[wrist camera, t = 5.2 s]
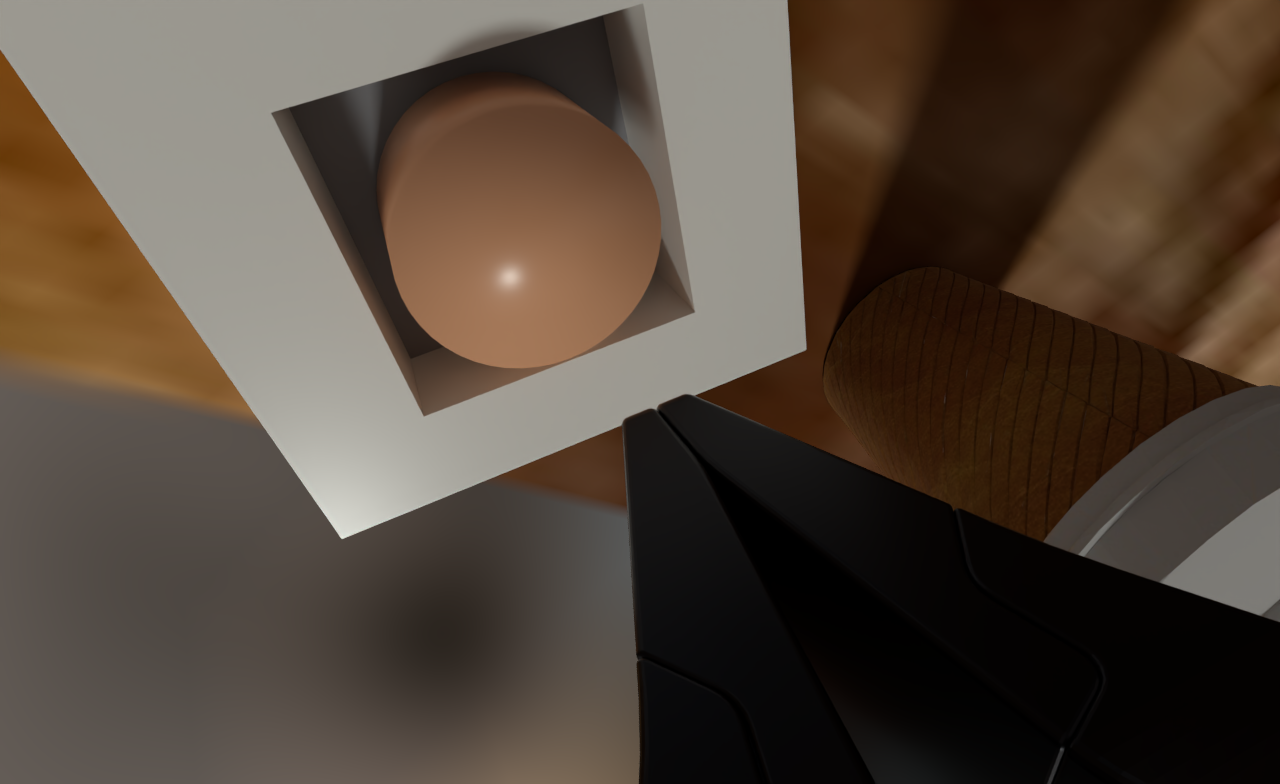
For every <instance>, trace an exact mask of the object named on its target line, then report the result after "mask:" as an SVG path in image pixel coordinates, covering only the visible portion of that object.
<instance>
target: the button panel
mask: <svg viewBox="0 0 1280 784" xmlns="http://www.w3.org/2000/svg"><path fill="white" fill-rule="evenodd" d="M0 50H1V51H2V52H3V54H4V55H5V57H6V58H7V60H8V61H9V62H10V64H11V65H12V67H13V68H14V70H15V71H16V72H17V74H18V75H19V77H20V78H21V80H22V81H23V83H24V84H25V85H26V87H27V88H28V90H29V91H30V93H31V94H32V95H33V97H34V98H35V100H36V101H37V103H38V104H39V105H40V107H41V108H42V110H43V111H44V113H45V114H46V116H47V117H48V118H49V120H50V121H51V123H52V124H53V126H54V127H55V128H56V130H57V131H58V133H59V134H60V136H61V137H62V138H63V140H64V141H65V143H66V144H67V146H68V147H69V149H70V150H71V151H72V153H73V154H74V156H75V157H76V159H77V160H78V161H79V163H80V164H81V166H82V167H83V169H84V170H85V171H86V173H87V174H88V176H89V177H90V179H91V180H92V181H93V183H94V184H95V186H96V187H97V189H98V190H99V192H100V193H101V194H102V196H103V197H104V199H105V200H106V202H107V203H108V204H109V206H110V207H111V209H112V210H113V212H114V213H115V214H116V216H117V217H118V219H119V220H120V222H121V223H122V225H123V226H124V227H125V229H126V230H127V232H128V233H129V235H130V236H131V237H132V239H133V240H134V242H135V243H136V245H137V246H138V247H139V249H140V250H141V252H142V253H143V255H144V256H145V258H146V259H147V260H148V262H149V263H150V265H151V266H152V268H153V269H154V270H155V272H156V273H157V275H158V276H159V278H160V279H161V280H162V282H163V283H164V285H165V286H166V288H167V289H168V290H169V292H170V293H171V295H172V296H173V298H174V299H175V301H176V302H177V303H178V305H179V306H180V308H181V309H182V311H183V312H184V313H185V315H186V316H187V318H188V319H189V321H190V322H191V323H192V325H193V326H194V328H195V329H196V331H197V332H198V334H199V335H200V336H201V338H202V339H203V341H204V342H205V344H206V345H207V346H208V348H209V349H210V351H211V352H212V354H213V355H214V356H215V358H216V359H217V361H218V362H219V364H220V365H221V367H222V368H223V369H224V371H225V372H226V374H227V375H228V377H229V378H230V379H231V381H232V382H233V384H234V385H235V387H236V388H237V389H238V391H239V392H240V394H241V395H242V397H243V398H244V399H245V401H246V402H247V404H248V405H249V407H250V408H251V410H252V411H253V412H254V414H255V415H256V417H257V418H258V420H259V421H260V422H261V424H262V425H263V427H264V428H265V430H266V431H267V432H268V434H269V435H270V437H271V438H272V440H273V441H274V443H275V444H276V445H277V447H278V448H279V450H280V451H281V453H282V454H283V455H284V457H285V458H286V460H287V461H288V462H289V464H290V465H291V467H292V468H293V469H294V471H295V473H296V474H297V475H298V477H299V478H300V480H301V481H302V483H303V484H304V485H305V487H306V488H307V490H308V491H309V493H310V494H311V495H312V497H313V498H314V500H315V501H316V503H317V504H318V506H319V507H320V508H321V510H322V511H323V513H324V514H325V515H326V517H327V518H328V520H329V521H330V523H331V524H332V526H333V527H334V529H335V530H336V531H337V533H338V534H339V536H340V537H341V539H343V538H345V537H348V536H351V535H353V534H355V533H358V532H360V531H363V530H365V529H368V528H370V527H373V526H375V525H377V524H380V523H382V522H385V521H387V520H390V519H392V518H394V517H397V516H399V515H402V514H405V513H407V512H409V511H412V510H414V509H417V508H419V507H422V506H424V505H427V504H429V503H431V502H434V501H436V500H439V499H441V498H444V497H446V496H449V495H451V494H453V493H456V492H459V491H461V490H463V489H466V488H468V487H471V486H473V485H476V484H478V483H481V482H483V481H486V480H488V479H490V478H493V477H495V476H498V475H500V474H503V473H505V472H508V471H510V470H513V469H515V468H517V467H520V466H522V465H525V464H527V463H530V462H532V461H535V460H537V459H540V458H542V457H544V456H547V455H549V454H552V453H554V452H557V451H559V450H562V449H564V448H567V447H569V446H571V445H574V444H576V443H579V442H581V441H584V440H586V439H589V438H591V437H594V436H596V435H598V434H601V433H603V432H606V431H608V430H611V429H613V428H616V427H618V426H621V425H622V422H623V420H624V419H625V418H626V417H629V416H631V415H634V414H636V413H639V412H641V411H644V410H646V409H649V408H652V409H657V407H658V405H659V404H661V403H663V402H666V401H668V400H671V399H673V398H676V397H678V396H680V395H683V394H691V395H697V394H699V393H702V392H704V391H706V390H709V389H711V388H714V387H716V386H719V385H721V384H724V383H726V382H729V381H731V380H733V379H736V378H738V377H741V376H743V375H746V374H748V373H751V372H753V371H756V370H758V369H760V368H763V367H765V366H768V365H770V364H773V363H775V362H778V361H780V360H783V359H785V358H787V357H790V356H792V355H795V354H797V353H800V352H802V351H805V350H806V333H805V315H804V296H803V278H802V260H801V241H800V223H799V205H798V186H797V168H796V150H795V132H794V113H793V95H792V77H791V58H790V40H789V22H788V3H787V0H0ZM481 72H508V73H514V74H519V75H524V76H527V77H530V78H533V79H536V80H539V81H541V82H543V83H545V84H547V85H549V86H551V87H553V88H555V89H556V90H558V91H559V92H561V93H562V94H563V95H565V96H566V97H568V98H569V99H570V100H572V101H573V102H574V103H576V104H577V105H578V106H580V107H581V108H582V109H584V110H585V111H587V112H588V113H589V114H591V115H592V116H593V117H595V118H596V119H597V120H599V121H600V122H601V123H603V124H604V125H605V126H607V127H608V128H610V129H611V130H612V131H614V132H615V133H616V134H618V135H619V136H620V137H621V138H622V139H623V140H624V141H625V142H626V143H627V144H628V145H629V146H630V147H631V148H632V150H633V151H634V152H635V153H636V155H637V156H638V157H639V159H640V160H641V162H642V163H643V165H644V167H645V168H646V170H647V172H648V174H649V176H650V178H651V181H652V183H653V186H654V188H655V191H656V195H657V199H658V203H659V208H660V216H661V242H660V249H659V256H658V259H657V263H656V267H655V270H654V273H653V275H652V278H651V281H650V283H649V285H648V287H647V289H646V291H645V293H644V295H643V297H642V298H641V300H640V301H639V303H638V304H637V306H636V307H635V309H634V310H633V312H632V313H631V314H630V315H629V316H628V317H627V319H626V320H625V321H624V322H623V323H622V324H621V325H620V326H619V327H618V328H617V329H616V330H615V331H614V332H613V333H611V334H610V335H609V336H608V337H606V338H605V339H604V340H602V341H601V342H600V343H598V344H597V345H595V346H593V347H592V348H590V349H588V350H587V351H585V352H583V353H581V354H579V355H576V356H574V357H572V358H570V359H567V360H564V361H561V362H558V363H555V364H550V365H545V366H540V367H532V368H502V367H495V366H489V365H485V364H482V363H478V362H474V361H472V360H469V359H467V358H464V357H462V356H460V355H458V354H456V353H454V352H452V351H451V350H449V349H447V348H445V347H444V346H443V345H441V344H440V343H439V342H437V341H436V340H435V339H433V338H432V337H431V336H430V335H429V334H428V333H427V332H426V331H425V330H424V329H423V328H422V327H421V326H420V325H419V324H418V322H417V321H416V320H415V318H414V317H413V316H412V315H411V313H410V312H409V310H408V308H407V307H406V305H405V303H404V301H403V299H402V298H401V295H400V293H399V290H398V287H397V285H396V282H395V279H394V275H393V270H392V266H391V262H390V257H389V253H388V249H387V245H386V240H385V236H384V232H383V227H382V223H381V219H380V214H379V210H378V205H377V192H376V186H377V172H378V167H379V163H380V158H381V155H382V152H383V149H384V146H385V144H386V141H387V139H388V137H389V135H390V134H391V132H392V130H393V128H394V126H395V125H396V124H397V122H398V121H399V119H400V118H401V117H402V115H403V114H404V113H405V112H406V111H407V110H408V109H409V108H410V107H411V106H412V105H413V104H414V103H415V102H416V101H417V100H418V99H419V98H421V97H422V96H423V95H425V94H426V93H427V92H429V91H430V90H432V89H434V88H435V87H437V86H439V85H441V84H443V83H445V82H447V81H450V80H452V79H455V78H458V77H460V76H465V75H469V74H474V73H481Z"/></svg>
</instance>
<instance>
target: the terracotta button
mask: <svg viewBox="0 0 1280 784" xmlns="http://www.w3.org/2000/svg"><path fill="white" fill-rule="evenodd" d="M376 192H377V205H378V210H379V214H380V219H381V223H382V227H383V232H384V236H385V240H386V245H387V249H388V253H389V257H390V262H391V266H392V270H393V275H394V279H395V282H396V285H397V287H398V290H399V293H400V295H401V298H402V299H403V301H404V303H405V305H406V307H407V308H408V310H409V312H410V313H411V315H412V316H413V317H414V318H415V320H416V321H417V322H418V324H419V325H420V326H421V327H422V328H423V329H424V330H425V331H426V332H427V333H428V334H429V335H430V336H431V337H432V338H433V339H435V340H436V341H437V342H439V343H440V344H441V345H443V346H444V347H445V348H447V349H449V350H451V351H452V352H454V353H456V354H458V355H460V356H462V357H464V358H467V359H469V360H472V361H474V362H478V363H482V364H485V365H489V366H495V367H502V368H532V367H540V366H545V365H550V364H555V363H558V362H561V361H564V360H567V359H570V358H572V357H574V356H576V355H579V354H581V353H583V352H585V351H587V350H588V349H590V348H592V347H593V346H595V345H597V344H598V343H600V342H601V341H602V340H604V339H605V338H606V337H608V336H609V335H610V334H611V333H613V332H614V331H615V330H616V329H617V328H618V327H619V326H620V325H621V324H622V323H623V322H624V321H625V320H626V319H627V317H628V316H629V315H630V314H631V313H632V312H633V310H634V309H635V307H636V306H637V304H638V303H639V301H640V300H641V298H642V297H643V295H644V293H645V291H646V289H647V287H648V285H649V283H650V281H651V278H652V275H653V273H654V270H655V267H656V263H657V259H658V256H659V249H660V242H661V216H660V208H659V203H658V199H657V195H656V191H655V188H654V186H653V183H652V181H651V178H650V176H649V174H648V172H647V170H646V168H645V167H644V165H643V163H642V162H641V160H640V159H639V157H638V156H637V155H636V153H635V152H634V151H633V150H632V148H631V147H630V146H629V145H628V144H627V143H626V142H625V141H624V140H623V139H622V138H621V137H620V136H619V135H618V134H616V133H615V132H614V131H612V130H611V129H610V128H608V127H607V126H605V125H604V124H603V123H601V122H600V121H599V120H597V119H596V118H595V117H593V116H592V115H591V114H589V113H588V112H587V111H585V110H584V109H582V108H581V107H580V106H578V105H577V104H576V103H574V102H573V101H572V100H570V99H569V98H568V97H566V96H565V95H563V94H562V93H561V92H559V91H558V90H556V89H555V88H553V87H551V86H549V85H547V84H545V83H543V82H541V81H539V80H536V79H533V78H530V77H527V76H524V75H519V74H514V73H508V72H481V73H474V74H469V75H465V76H460V77H458V78H455V79H452V80H450V81H447V82H445V83H443V84H441V85H439V86H437V87H435V88H434V89H432V90H430V91H429V92H427V93H426V94H425V95H423V96H422V97H421V98H419V99H418V100H417V101H416V102H415V103H414V104H413V105H412V106H411V107H410V108H409V109H408V110H407V111H406V112H405V113H404V114H403V115H402V117H401V118H400V119H399V121H398V122H397V124H396V125H395V126H394V128H393V130H392V132H391V134H390V135H389V137H388V139H387V141H386V144H385V146H384V149H383V152H382V155H381V158H380V163H379V167H378V172H377V186H376Z"/></svg>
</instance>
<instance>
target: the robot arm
mask: <svg viewBox="0 0 1280 784" xmlns="http://www.w3.org/2000/svg"><path fill="white" fill-rule="evenodd" d="M622 432H623V448H624V464H625V480H626V496H627V513H628V529H629V545H630V560H631V577H632V593H633V609H634V625H635V641H636V655H637V658H638V661H637V680H638V694H639V695H638V696H639V732H640V768H639V784H1280V622H1278V621H1275V620H1272V619H1269V618H1266V617H1263V616H1260V615H1257V614H1254V613H1251V612H1248V611H1245V610H1242V609H1239V608H1236V607H1233V606H1230V605H1227V604H1224V603H1221V602H1218V601H1215V600H1212V599H1209V598H1206V597H1203V596H1199V595H1196V594H1193V593H1190V592H1187V591H1184V590H1181V589H1178V588H1175V587H1172V586H1169V585H1166V584H1163V583H1160V582H1157V581H1154V580H1151V579H1148V578H1145V577H1142V576H1139V575H1136V574H1133V573H1130V572H1127V571H1124V570H1121V569H1118V568H1115V567H1112V566H1109V565H1106V564H1103V563H1101V562H1098V561H1095V560H1092V559H1089V558H1086V557H1083V556H1081V555H1078V554H1075V553H1072V552H1069V551H1066V550H1064V549H1061V548H1058V547H1055V546H1052V545H1049V544H1047V543H1044V542H1042V541H1039V540H1037V539H1034V538H1032V537H1029V536H1027V535H1024V534H1022V533H1019V532H1017V531H1014V530H1012V529H1009V528H1007V527H1004V526H1002V525H999V524H997V523H994V522H992V521H989V520H987V519H985V518H982V517H980V516H978V515H975V514H973V513H971V512H968V511H966V510H963V509H961V508H956V509H955V510H954V511H953V508H952V506H951V505H950V504H949V503H946V502H944V501H941V500H939V499H937V498H934V497H932V496H930V495H927V494H925V493H923V492H920V491H918V490H915V489H913V488H911V487H908V486H906V485H904V484H901V483H899V482H897V481H894V480H892V479H890V478H887V477H885V476H882V475H880V474H878V473H875V472H873V471H871V470H868V469H866V468H864V467H861V466H859V465H856V464H854V463H852V462H849V461H847V460H845V459H842V458H840V457H838V456H835V455H833V454H830V453H828V452H826V451H823V450H821V449H819V448H816V447H814V446H812V445H809V444H807V443H804V442H802V441H800V440H797V439H795V438H793V437H790V436H788V435H786V434H783V433H781V432H779V431H776V430H774V429H771V428H769V427H767V426H764V425H762V424H760V423H757V422H755V421H753V420H750V419H748V418H745V417H743V416H741V415H738V414H736V413H734V412H731V411H729V410H727V409H724V408H722V407H719V406H717V405H715V404H712V403H710V402H708V401H705V400H703V399H701V398H698V397H696V396H694V395H691V394H683V395H680V396H678V397H676V398H673V399H671V400H668V401H666V402H663V403H661V404H659V405H658V407H657V409H652V408H649V409H646V410H644V411H641V412H639V413H636V414H634V415H631V416H629V417H626V418H625V419H624V420H623V422H622Z"/></svg>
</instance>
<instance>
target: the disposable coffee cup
mask: <svg viewBox="0 0 1280 784" xmlns="http://www.w3.org/2000/svg"><path fill="white" fill-rule="evenodd" d="M823 383H824V391H825V395H826V397H827V400H828V402H829V404H830V405H831V407H832V408H833V409H834V410H835V412H836V413H837V414H838V415H839V417H840V418H841V419H842V420H843V422H844V423H845V424H846V426H847V427H848V428H849V429H850V431H851V432H852V433H853V435H854V436H855V437H856V439H857V440H858V442H859V443H860V444H861V445H862V447H863V448H864V449H865V450H866V452H867V453H868V455H869V456H870V457H871V458H872V460H873V461H874V462H875V463H876V465H877V466H878V468H879V469H880V470H881V471H882V473H883V474H884V476H885V477H887V478H890V479H892V480H894V481H897V482H899V483H901V484H904V485H906V486H908V487H911V488H913V489H915V490H918V491H920V492H923V493H925V494H927V495H930V496H932V497H934V498H937V499H939V500H941V501H944V502H946V503H949V504H950V505H951V506H952V508H953V511H954V510H955V509H956V508H961V509H963V510H966V511H968V512H971V513H973V514H975V515H978V516H980V517H982V518H985V519H987V520H989V521H992V522H994V523H997V524H999V525H1002V526H1004V527H1007V528H1009V529H1012V530H1014V531H1017V532H1019V533H1022V534H1024V535H1027V536H1029V537H1032V538H1034V539H1037V540H1039V541H1042V542H1044V543H1047V544H1049V545H1052V546H1055V547H1058V548H1061V549H1064V550H1066V551H1069V552H1072V553H1075V554H1078V555H1081V556H1083V557H1086V558H1089V559H1092V560H1095V561H1098V562H1101V563H1103V564H1106V565H1109V566H1112V567H1115V568H1118V569H1121V570H1124V571H1127V572H1130V573H1133V574H1136V575H1139V576H1142V577H1145V578H1148V579H1151V580H1154V581H1157V582H1160V583H1163V584H1166V585H1169V586H1172V587H1175V588H1178V589H1181V590H1184V591H1187V592H1190V593H1193V594H1196V595H1199V596H1203V597H1206V598H1209V599H1212V600H1215V601H1218V602H1221V603H1224V604H1227V605H1230V606H1233V607H1236V608H1239V609H1242V610H1245V611H1248V612H1251V613H1254V614H1257V615H1260V616H1263V617H1266V618H1269V619H1272V620H1275V621H1278V622H1280V387H1279V386H1273V385H1268V386H1256V385H1253V384H1251V383H1248V382H1245V381H1242V380H1240V379H1237V378H1234V377H1232V376H1230V375H1227V374H1224V373H1221V372H1219V371H1216V370H1213V369H1210V368H1208V367H1205V366H1204V365H1202V364H1199V363H1196V362H1193V361H1190V360H1187V359H1184V358H1181V357H1179V356H1178V355H1175V354H1172V353H1169V352H1166V351H1163V350H1160V349H1157V348H1154V347H1153V346H1151V345H1148V344H1145V343H1142V342H1139V341H1136V340H1133V339H1131V338H1128V337H1126V336H1123V335H1120V334H1117V333H1115V332H1112V331H1109V330H1108V329H1106V328H1103V327H1100V326H1097V325H1094V324H1091V323H1088V322H1087V321H1084V320H1081V319H1078V318H1075V317H1072V316H1069V315H1068V314H1066V313H1063V312H1060V311H1057V310H1053V309H1050V308H1048V307H1047V306H1044V305H1041V304H1038V303H1035V302H1031V300H1028V299H1025V298H1022V297H1019V296H1016V295H1014V294H1012V293H1009V292H1006V291H1003V290H1000V289H998V288H996V287H993V286H990V285H987V284H984V283H982V282H980V281H977V280H974V279H971V278H969V277H966V276H964V275H961V274H958V273H956V272H953V271H951V270H949V269H945V268H939V267H923V268H916V269H912V270H909V271H906V272H903V273H901V274H899V275H897V276H895V277H893V278H890V279H889V280H887V281H886V282H884V283H882V284H881V285H879V286H877V287H876V288H875V289H874V290H873V291H872V292H871V293H870V294H868V295H867V296H866V297H865V298H864V299H863V300H862V301H861V302H860V303H858V305H857V306H856V307H855V308H854V309H853V310H852V311H851V313H850V314H849V315H848V316H847V318H846V319H845V321H844V322H843V324H842V325H841V327H840V328H839V330H838V331H837V333H836V335H835V337H834V340H833V342H832V344H831V346H830V349H829V351H828V354H827V358H826V361H825V365H824V375H823Z"/></svg>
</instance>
